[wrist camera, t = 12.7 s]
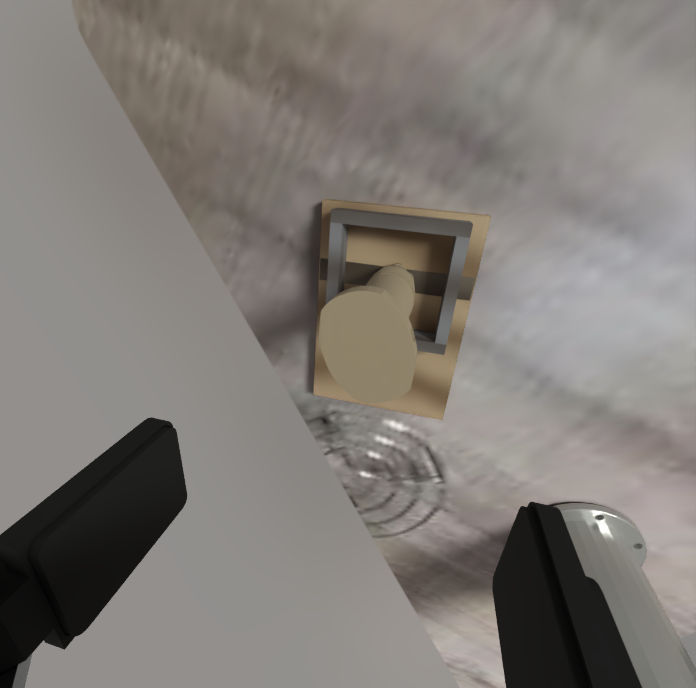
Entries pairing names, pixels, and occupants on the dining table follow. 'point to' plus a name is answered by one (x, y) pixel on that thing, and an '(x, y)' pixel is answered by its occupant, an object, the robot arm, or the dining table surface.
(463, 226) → the subfloor panel
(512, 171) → the dining table surface
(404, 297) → the handle
